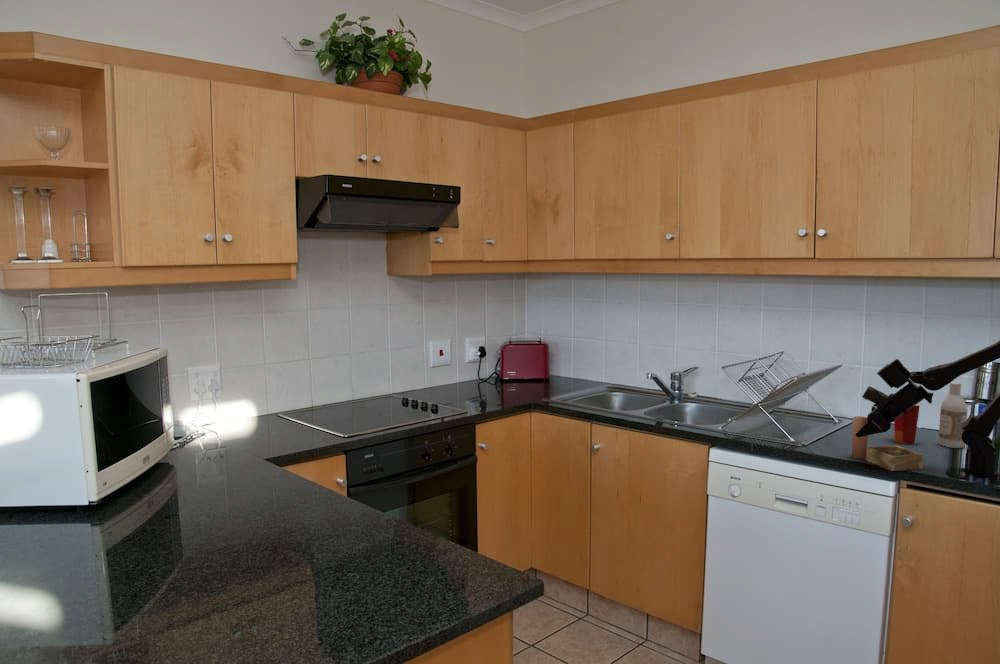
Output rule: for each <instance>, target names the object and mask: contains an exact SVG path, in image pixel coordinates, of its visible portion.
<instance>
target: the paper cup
mask: <svg viewBox="0 0 1000 664" xmlns="http://www.w3.org/2000/svg"><path fill="white" fill-rule="evenodd" d="M920 402H921V401H920ZM920 402H919V403H918V404H916V405H915V406H913V407H912V408H911V409H909V410H908V412H907V413H905V414H904V413H903V414H902V415H901V416H899V417H898V418H896V420H895V421H894V422H893V431H894V433H893V434H894V435H893V436H894V438H893V439H894V442H895V443H897V442H898V444H901V443H902V444H901V445H914V444H915V442H916V437H917V436H916V435H917V427H918V422H919V414H920V406H921V403H920ZM913 443H914V444H913Z"/></svg>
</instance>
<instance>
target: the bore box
mask: <svg viewBox="0 0 1000 664" xmlns="http://www.w3.org/2000/svg"><path fill="white" fill-rule="evenodd" d="M866 460H867V461H866ZM865 461H866V462H868V461H869V462H868V463H870V462H872V463H871V464H873V463H874V465H875V464H877V465H879V466H878V467H880V468H883V469H886V470H888V471H890V472H894V471H895V472H897V471H907V470H906V469H911V470H920V469H921V470H922V469H923V463H924V462H923V461H924V454H922V453H919V452H916V451H913V450H911V449H908V448H905V447H902V446H900V445H885V446H870V447H868V446H867V451H866V459H865ZM877 465H876V466H877Z"/></svg>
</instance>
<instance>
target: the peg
mask: <svg viewBox="0 0 1000 664" xmlns="http://www.w3.org/2000/svg"><path fill="white" fill-rule="evenodd" d="M852 421H853V422H852V423H853V424H852V439H851V458H853V459H855V458H857V459H856V460H866V459H865V458H866V451H867V447H868V442H869V437H868V436H869V435H867V436H863V437H857V436H856V433H857V432H858V431H859V430H860V429H861V428H862V427H863V426H864V425H865V424H866V423H867V416H859V415H858V416H857V415H856V416H853V420H852Z"/></svg>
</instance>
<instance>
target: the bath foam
mask: <svg viewBox="0 0 1000 664" xmlns="http://www.w3.org/2000/svg"><path fill="white" fill-rule="evenodd" d="M961 389H962V383H961V382H957V381H956V382H955V381H952V382H950V383H949V393H948V395H947V396H946V397H945V398H944V400H943V401H942V403H941V406H940V415H939V429H938V430H939V431H938V433H939V434H938V444H939V445H940V446H941V445H942V446H941V447H944V446H945V448H950V449H951V448H952V449H962V448H965V445H966V444H965V443H964V442H963V440H962V437H961V429H962V423H963V422H965V421H966V420H967V419H968V406H967V403H966V402H965V400H964V398H963V397H962V394H961V391H962V390H961Z"/></svg>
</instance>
